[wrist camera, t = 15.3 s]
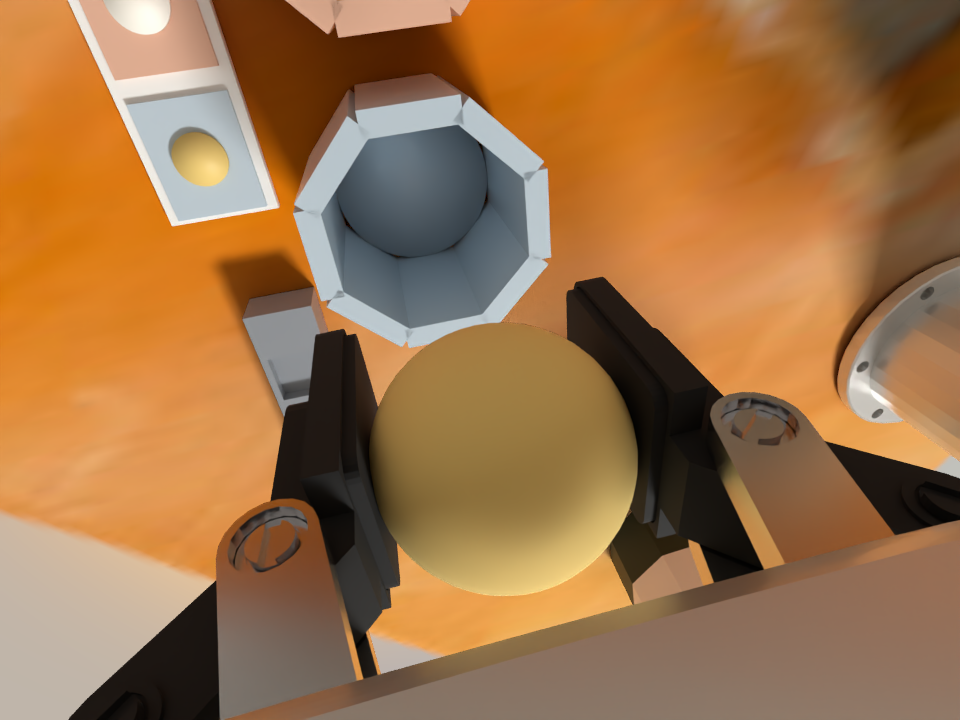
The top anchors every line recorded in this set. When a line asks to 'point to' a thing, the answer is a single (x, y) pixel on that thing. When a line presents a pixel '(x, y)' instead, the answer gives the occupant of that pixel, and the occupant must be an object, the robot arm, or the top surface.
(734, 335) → the top surface
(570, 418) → the ball ochre
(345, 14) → the tube terracotta
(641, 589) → the wine bottle
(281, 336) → the holder
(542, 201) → the tube bluegrey
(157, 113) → the card
